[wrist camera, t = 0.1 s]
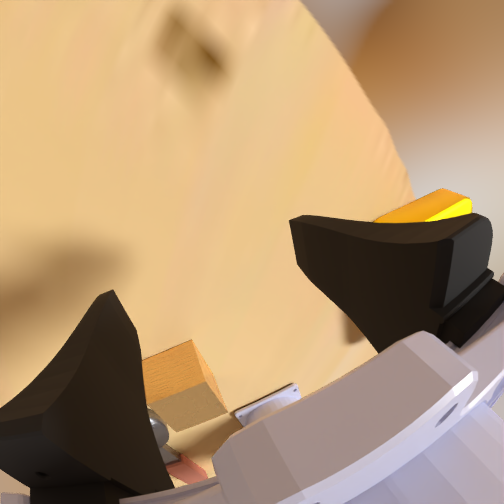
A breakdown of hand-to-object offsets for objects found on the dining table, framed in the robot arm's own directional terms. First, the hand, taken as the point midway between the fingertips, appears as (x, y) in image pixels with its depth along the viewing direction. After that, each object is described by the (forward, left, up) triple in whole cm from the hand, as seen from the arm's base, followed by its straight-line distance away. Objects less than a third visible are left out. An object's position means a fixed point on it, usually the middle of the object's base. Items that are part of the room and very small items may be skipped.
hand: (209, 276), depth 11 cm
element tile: (-15, -22, -11) cm, 29 cm away
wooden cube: (-13, +6, -10) cm, 18 cm away
